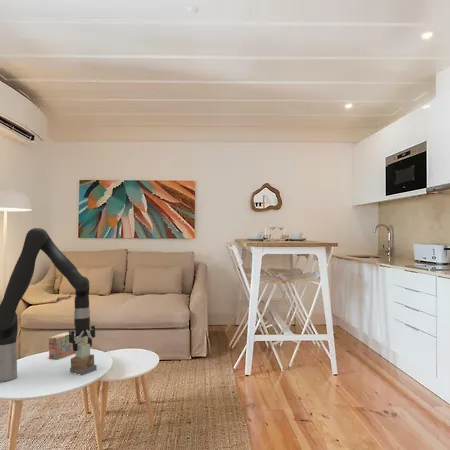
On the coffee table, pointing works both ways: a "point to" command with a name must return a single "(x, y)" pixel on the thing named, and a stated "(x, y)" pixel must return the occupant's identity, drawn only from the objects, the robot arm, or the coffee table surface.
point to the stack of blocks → (61, 346)
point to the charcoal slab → (82, 372)
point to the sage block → (83, 350)
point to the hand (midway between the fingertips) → (82, 348)
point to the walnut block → (82, 362)
